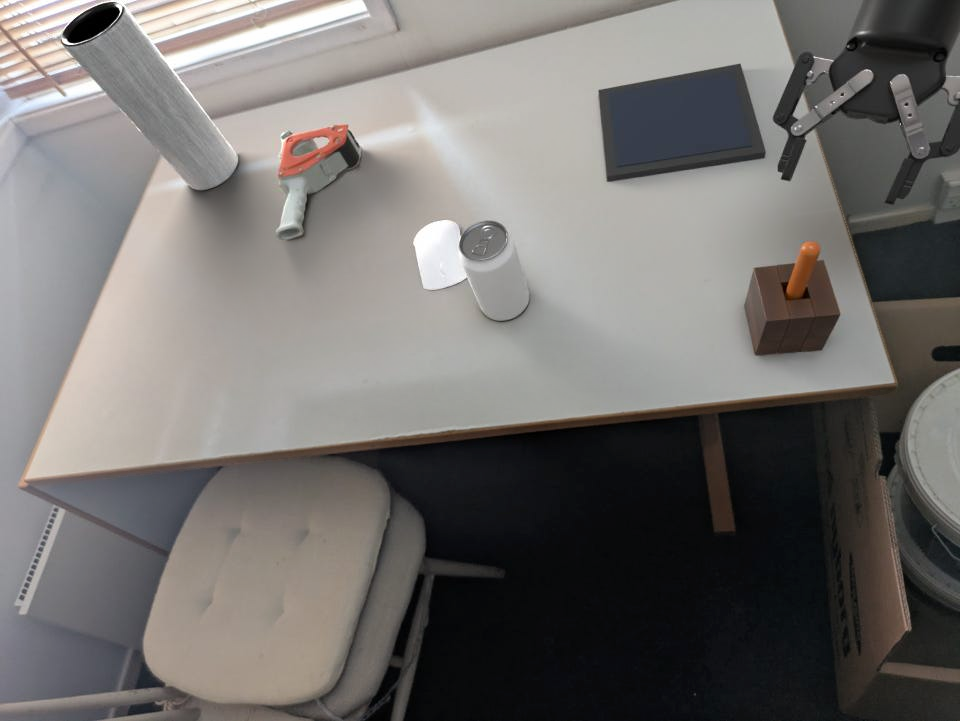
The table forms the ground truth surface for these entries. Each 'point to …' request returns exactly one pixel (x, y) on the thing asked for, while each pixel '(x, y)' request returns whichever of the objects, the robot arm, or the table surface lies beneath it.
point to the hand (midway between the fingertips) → (835, 191)
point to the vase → (149, 93)
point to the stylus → (802, 270)
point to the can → (494, 270)
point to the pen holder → (790, 311)
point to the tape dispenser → (311, 169)
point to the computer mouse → (439, 255)
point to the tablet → (679, 123)
